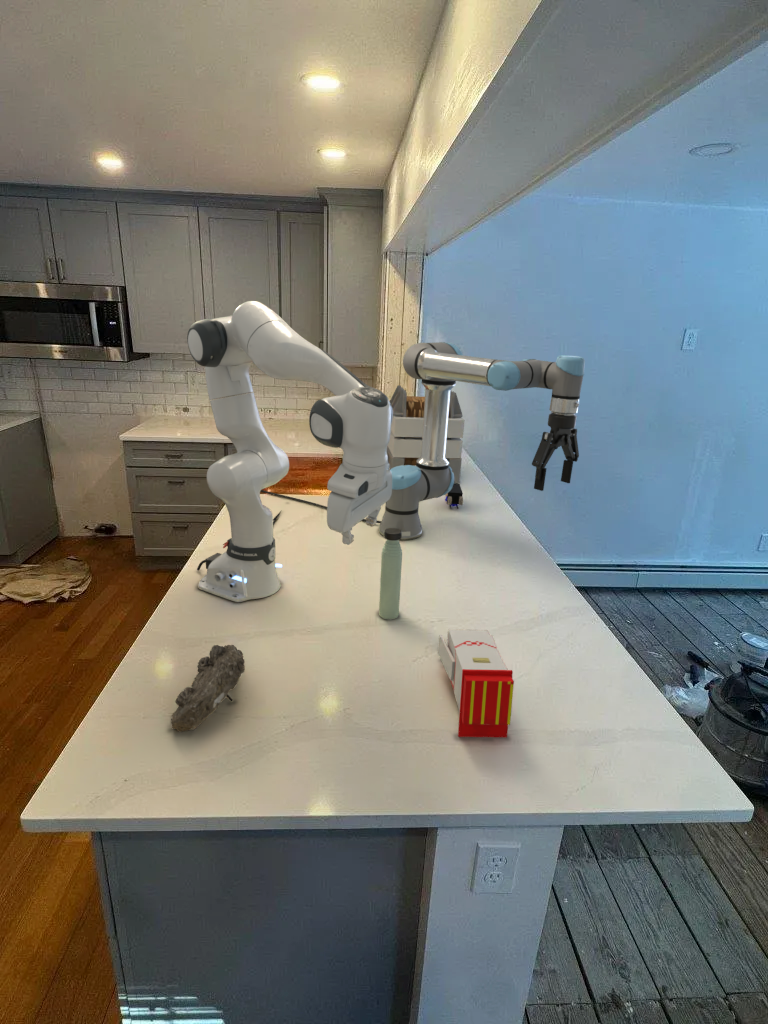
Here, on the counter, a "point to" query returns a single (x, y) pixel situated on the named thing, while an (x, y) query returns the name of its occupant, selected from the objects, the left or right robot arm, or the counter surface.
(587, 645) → the counter surface
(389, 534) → the cap
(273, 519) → the feather
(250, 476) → the left robot arm
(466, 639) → the toy
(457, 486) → the figurine character
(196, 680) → the fossil
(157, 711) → the counter surface
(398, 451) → the transformer
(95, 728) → the counter surface
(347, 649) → the counter surface
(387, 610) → the bottle
